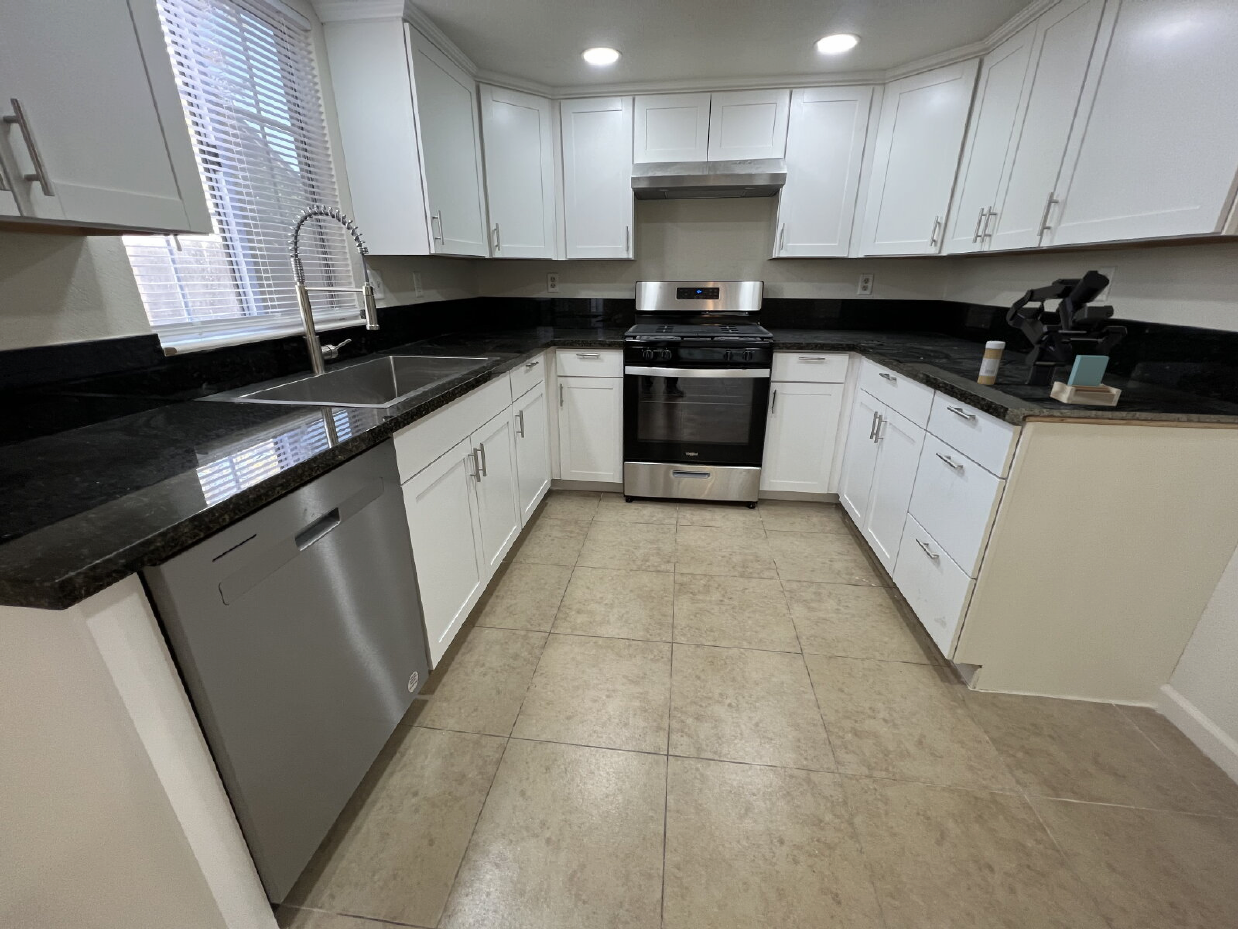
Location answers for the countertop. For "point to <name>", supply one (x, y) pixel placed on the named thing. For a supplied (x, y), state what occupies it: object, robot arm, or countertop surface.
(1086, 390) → the offcut stack
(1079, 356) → the tall sheet
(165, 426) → the countertop surface
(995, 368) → the sprinkles bottle
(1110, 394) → the board rack
